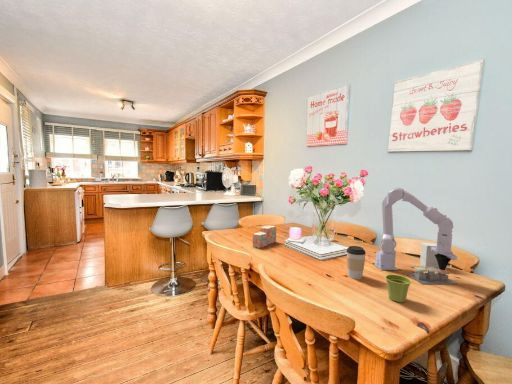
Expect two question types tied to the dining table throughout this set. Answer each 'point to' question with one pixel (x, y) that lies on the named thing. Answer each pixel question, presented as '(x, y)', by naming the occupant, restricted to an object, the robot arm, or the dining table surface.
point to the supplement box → (428, 255)
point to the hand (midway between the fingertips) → (442, 269)
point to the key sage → (420, 270)
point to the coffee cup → (355, 261)
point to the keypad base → (431, 278)
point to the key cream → (431, 270)
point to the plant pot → (397, 287)
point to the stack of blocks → (264, 236)
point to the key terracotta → (442, 272)
